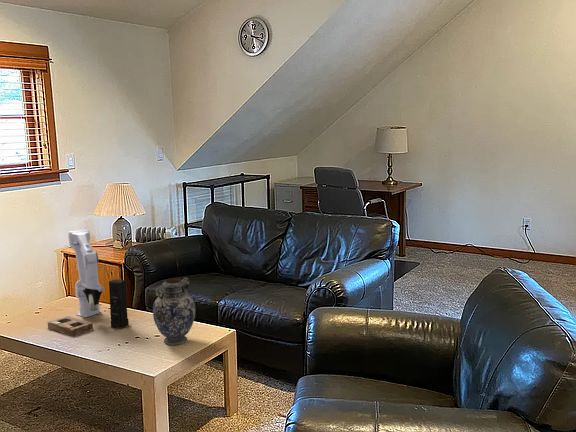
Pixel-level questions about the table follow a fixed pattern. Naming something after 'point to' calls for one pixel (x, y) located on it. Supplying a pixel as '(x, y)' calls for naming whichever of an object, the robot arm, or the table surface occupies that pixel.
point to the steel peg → (92, 304)
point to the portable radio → (118, 303)
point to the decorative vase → (174, 310)
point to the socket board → (70, 325)
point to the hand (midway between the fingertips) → (93, 303)
